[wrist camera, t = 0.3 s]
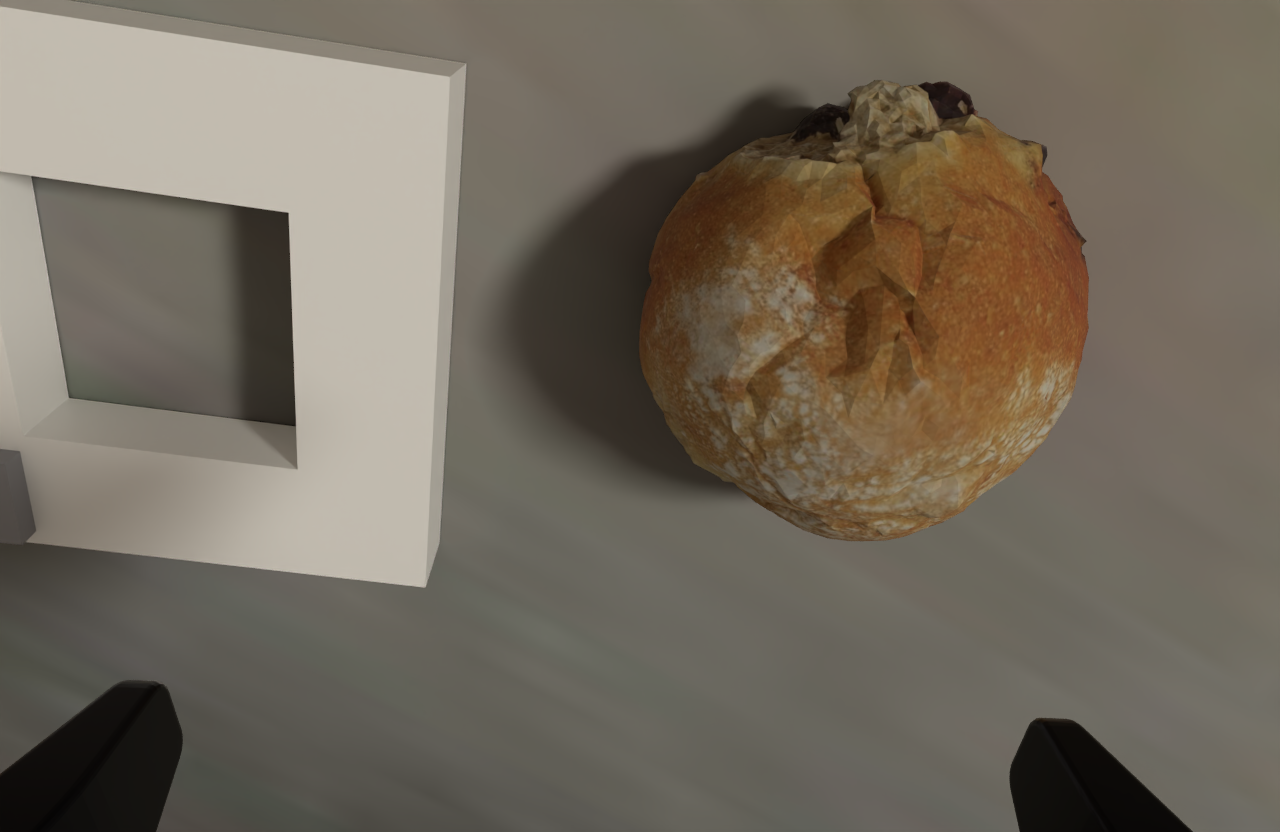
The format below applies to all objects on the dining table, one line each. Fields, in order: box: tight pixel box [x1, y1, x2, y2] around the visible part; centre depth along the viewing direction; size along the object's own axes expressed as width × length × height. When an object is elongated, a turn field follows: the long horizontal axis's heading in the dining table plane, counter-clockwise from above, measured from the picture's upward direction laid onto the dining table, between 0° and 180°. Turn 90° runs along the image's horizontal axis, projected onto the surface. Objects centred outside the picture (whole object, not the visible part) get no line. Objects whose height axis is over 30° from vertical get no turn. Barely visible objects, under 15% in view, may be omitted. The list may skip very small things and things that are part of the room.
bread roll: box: [639, 80, 1089, 541], centre depth 21 cm, size 10×10×8 cm
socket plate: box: [0, 0, 466, 587], centre depth 21 cm, size 13×13×3 cm
